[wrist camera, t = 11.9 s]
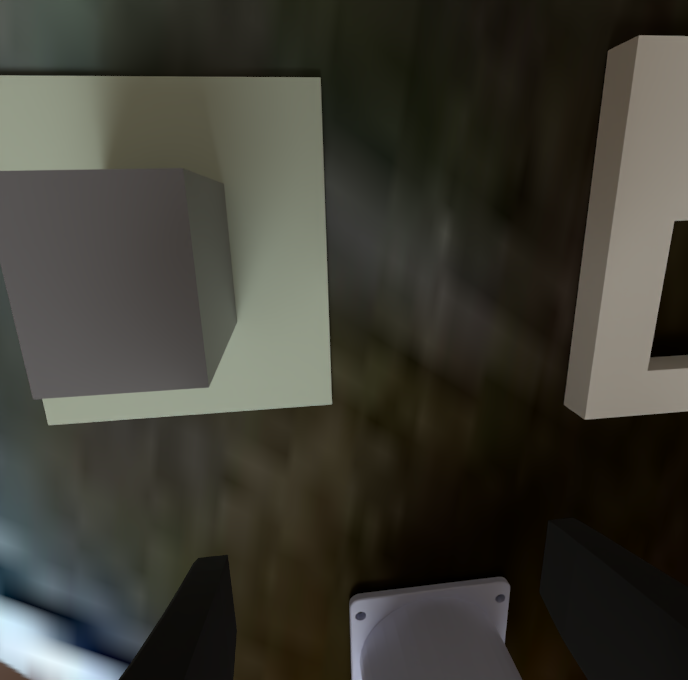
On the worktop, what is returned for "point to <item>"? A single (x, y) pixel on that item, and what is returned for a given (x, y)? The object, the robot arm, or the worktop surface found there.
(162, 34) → the worktop surface
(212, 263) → the block
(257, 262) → the rubber mat
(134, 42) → the worktop surface
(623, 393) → the white flat block
